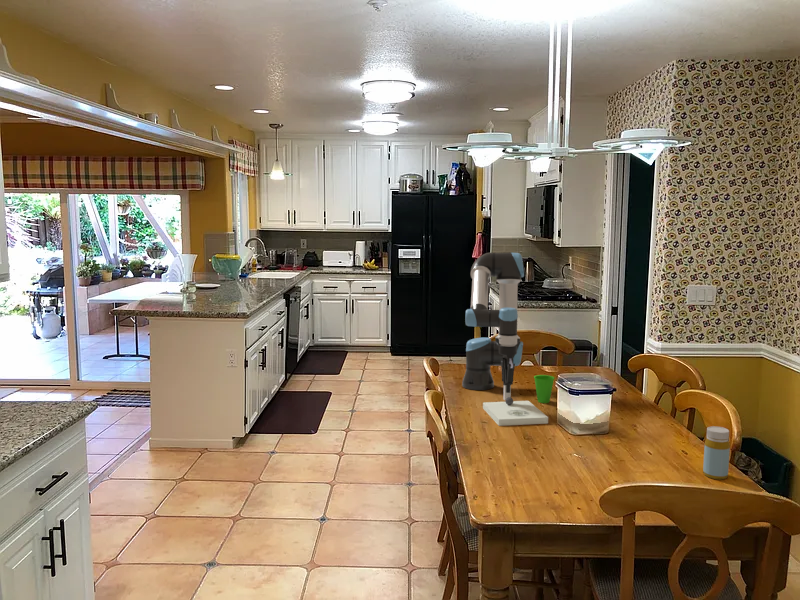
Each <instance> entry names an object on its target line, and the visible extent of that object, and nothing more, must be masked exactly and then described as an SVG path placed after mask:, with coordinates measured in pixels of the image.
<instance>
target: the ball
mask: <svg viewBox="0 0 800 600" xmlns="http://www.w3.org/2000/svg"><path fill="white" fill-rule="evenodd" d="M513 401H514V399H513V398H512V397H508V398H506V400H505V402H506V404H508V405H511V404H512V403H513Z"/></svg>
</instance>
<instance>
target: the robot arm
mask: <svg viewBox="0 0 800 600" xmlns="http://www.w3.org/2000/svg"><path fill="white" fill-rule="evenodd" d="M523 261H524V260H523V256H522V254H521V253H519V252H512V251H511V252H486V253H484V254H482V255H481V256H479V257H477V259H476V260H475V261H474V262H473V264H472V266H471V268H470V278H471V279H472V281H471V297H470V308H467V309H466V310H465V319H464V320H465V321H464V322H465V326H467V327H473V328H476V327H480V328H482V327H483V328H484V327H485V328H488V327H489V328H498V334H497V336H495V339H494V340H492V339H491V337H476V338H475V337H474V338H472V339H471V338H470V339H469V340H467V342H466V345H465V347H466V348H465V352H466V353H465V355H466V356H465V357H466V358H465V359H466V361H465V373H464V376H463V378H462V384H461V386H462V388H464V389H467V390H471V391H472V390H473V391H474V390H475V391H486V390H491V389H494V387H495V382H494V377H493V375H492V372H491V366H496V367H499V366H500V368H501V369H500V370H501V382H502V384H503V398H502V399H503V400H504V401H506V398H508V397H511V396H512V395H511V394H512V393H511V392H512V391H511V390H512V388H511V387H512V385H513V384H514V375H515V368H516V367H517V366H520V364H521V361H522V355H523V347H524V342H523V341H522V340H521V337H520V336H519V335H518V317H519V315H518V314H519V313H518V291H519V290H518V289H519V288H518V286H519V284H520V282H521V281H522V278H523V277H525V271H524V262H523ZM491 277H492V278H493V277H494V278H495V279H496V282H497V283H498V284H499V287H498V289H499V294H498V295H499V298H498V309H488V308H489V307H488V306H489V280H490V278H491ZM511 398H512V397H511Z"/></svg>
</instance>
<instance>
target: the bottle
mask: <svg viewBox="0 0 800 600" xmlns="http://www.w3.org/2000/svg"><path fill="white" fill-rule="evenodd" d="M729 437H730V430H729V429H728V428H725V427H723V426H714V425H712V426H708V427H707V428H706V438H705V441H704V450H703V452H704V453H703V466H702V470H703V475H704V476H705V477H707V478H709V479H712V480H717V481H718V480H719V481H720V480H726V479H727V478H728V476H729V467H730V466H729V465H730V464H729V463H730V450H731V447H730V446H731V445H730V443H729V441H730V440H729Z"/></svg>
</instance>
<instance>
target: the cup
mask: <svg viewBox="0 0 800 600" xmlns="http://www.w3.org/2000/svg"><path fill="white" fill-rule="evenodd" d="M533 378H534V384H535V391H536V399H537V402H538V403H541V404H549V403H550V402H551V395H552V390H553V386H554V381H555V379H556V378H555V377H554V376H553V375H550V374H549V375H547V374H538V375H536V374H535V375H534V376H533Z"/></svg>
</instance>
